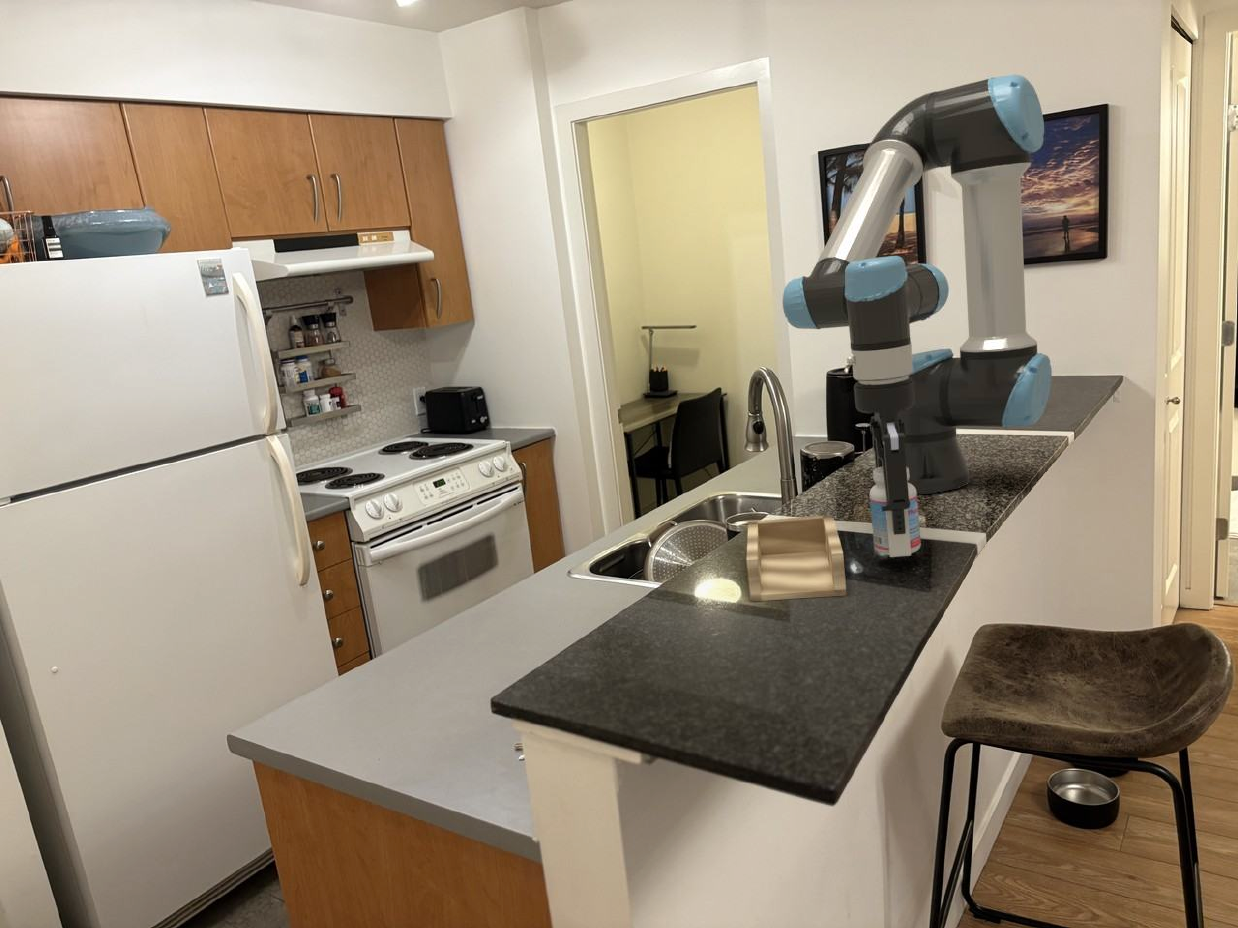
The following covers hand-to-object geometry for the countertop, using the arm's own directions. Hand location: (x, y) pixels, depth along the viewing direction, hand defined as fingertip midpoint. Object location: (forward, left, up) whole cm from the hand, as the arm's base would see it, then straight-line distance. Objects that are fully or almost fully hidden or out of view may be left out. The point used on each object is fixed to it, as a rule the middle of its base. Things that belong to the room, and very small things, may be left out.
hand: (896, 546), depth 125 cm
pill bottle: (0, 0, -1) cm, 1 cm away
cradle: (+11, -8, -2) cm, 14 cm away
